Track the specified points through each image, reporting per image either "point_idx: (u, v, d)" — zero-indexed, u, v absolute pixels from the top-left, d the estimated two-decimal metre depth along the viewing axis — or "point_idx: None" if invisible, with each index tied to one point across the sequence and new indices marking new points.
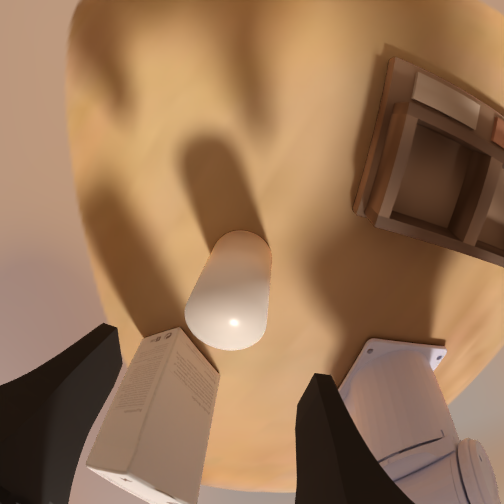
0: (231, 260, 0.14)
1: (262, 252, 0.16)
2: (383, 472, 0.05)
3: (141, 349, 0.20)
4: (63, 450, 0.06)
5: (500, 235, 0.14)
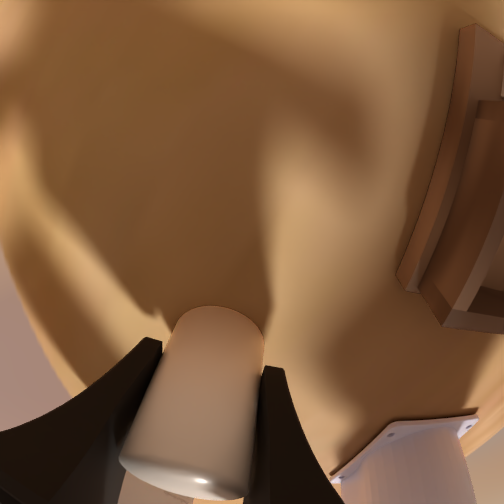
0: (189, 388, 0.07)
1: (245, 351, 0.09)
2: (321, 474, 0.05)
3: None
4: (113, 473, 0.06)
5: None
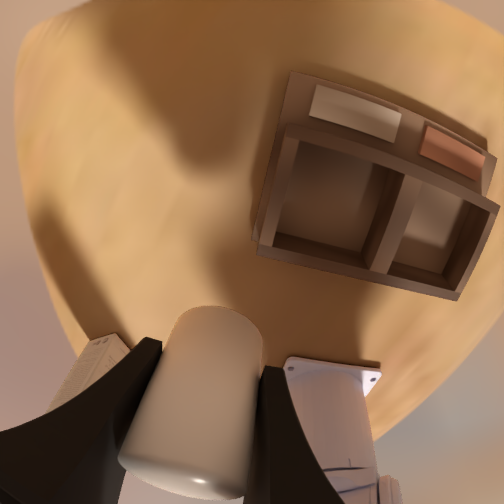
0: (189, 389, 0.07)
1: (245, 352, 0.09)
2: (321, 474, 0.05)
3: (85, 351, 0.21)
4: (113, 473, 0.06)
5: (435, 258, 0.15)
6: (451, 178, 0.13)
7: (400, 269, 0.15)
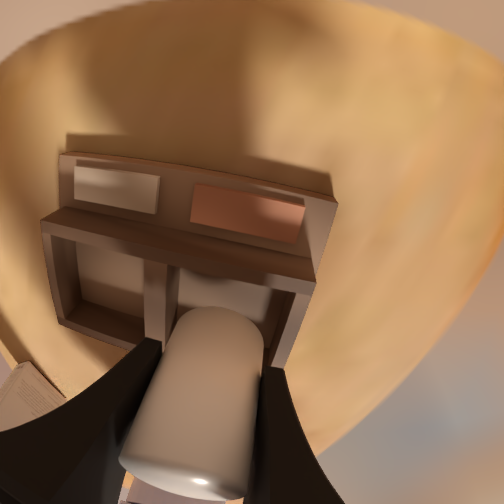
0: (194, 390, 0.07)
1: (248, 354, 0.09)
2: (321, 474, 0.05)
3: (12, 372, 0.20)
4: (113, 473, 0.06)
5: None
6: (250, 243, 0.12)
7: None
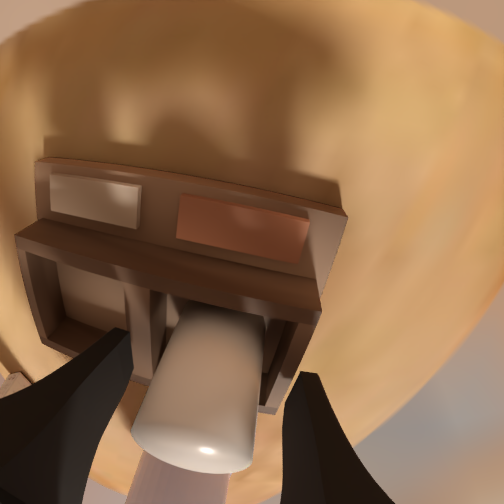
0: (202, 362, 0.08)
1: (252, 332, 0.10)
2: (366, 473, 0.05)
3: (3, 383, 0.19)
4: (77, 457, 0.06)
5: None
6: (246, 262, 0.11)
7: None
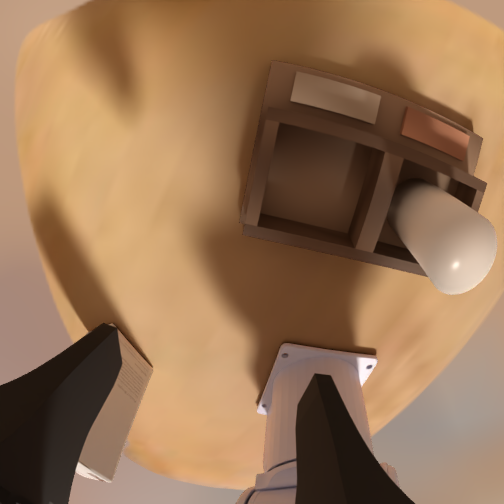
0: (454, 198, 0.11)
1: None
2: (383, 472, 0.05)
3: None
4: (63, 450, 0.06)
5: None
6: (436, 158, 0.13)
7: (388, 249, 0.15)
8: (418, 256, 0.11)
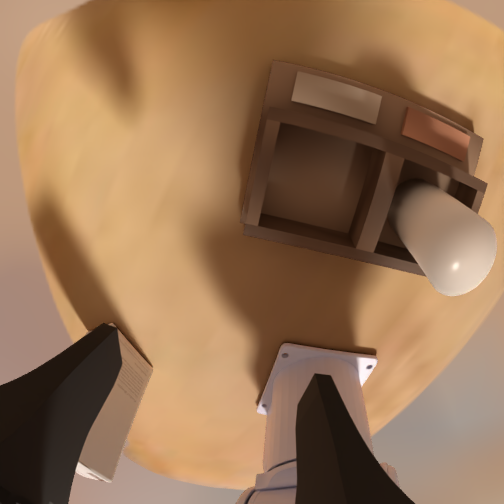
0: (453, 199, 0.11)
1: None
2: (383, 472, 0.05)
3: None
4: (63, 450, 0.06)
5: None
6: (436, 158, 0.13)
7: (388, 249, 0.15)
8: (418, 258, 0.11)
